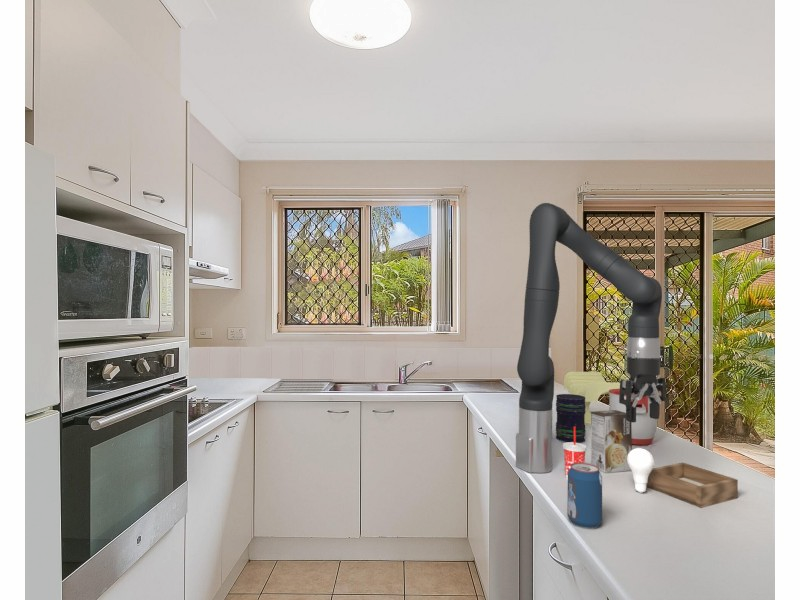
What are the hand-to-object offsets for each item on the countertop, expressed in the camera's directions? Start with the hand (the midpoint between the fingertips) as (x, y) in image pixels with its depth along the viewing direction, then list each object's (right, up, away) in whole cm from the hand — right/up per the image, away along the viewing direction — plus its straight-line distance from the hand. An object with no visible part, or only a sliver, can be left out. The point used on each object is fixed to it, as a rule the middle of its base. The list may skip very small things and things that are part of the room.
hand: (642, 420), depth 120 cm
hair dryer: (+19, -20, +78) cm, 82 cm away
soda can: (-21, -18, -17) cm, 33 cm away
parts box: (+12, -18, 0) cm, 22 cm away
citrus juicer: (+20, -19, +46) cm, 53 cm away
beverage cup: (-14, -18, +9) cm, 25 cm away
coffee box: (0, -19, +18) cm, 26 cm away
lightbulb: (-1, -18, 0) cm, 18 cm away
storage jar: (-1, -19, +48) cm, 52 cm away
